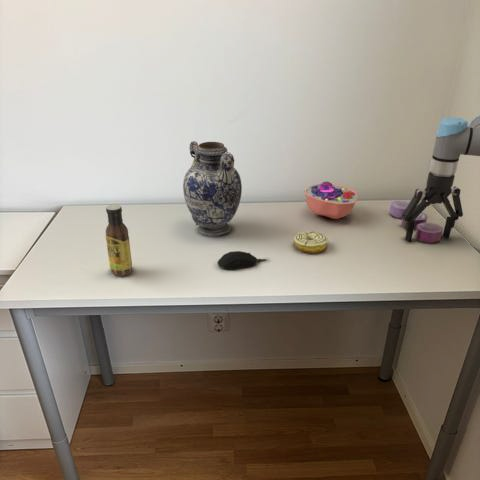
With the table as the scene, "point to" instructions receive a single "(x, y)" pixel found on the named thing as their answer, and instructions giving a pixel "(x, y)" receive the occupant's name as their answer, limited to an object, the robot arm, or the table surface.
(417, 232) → the dish
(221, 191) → the decorative vase
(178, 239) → the table surface
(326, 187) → the cell model
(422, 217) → the dish middle
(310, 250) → the decorated donut
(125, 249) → the sauce bottle
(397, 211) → the dish
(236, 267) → the gaming mouse
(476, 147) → the robot arm
